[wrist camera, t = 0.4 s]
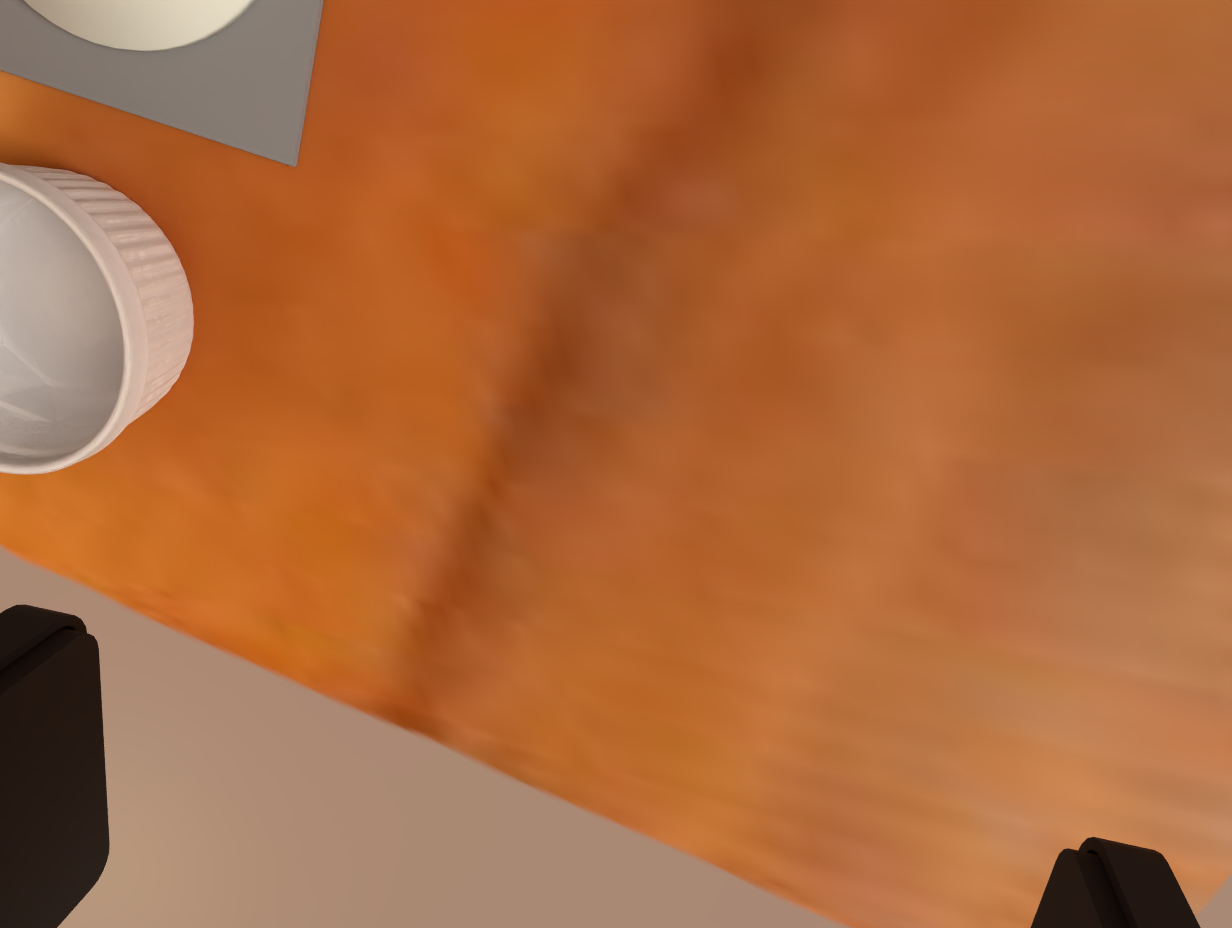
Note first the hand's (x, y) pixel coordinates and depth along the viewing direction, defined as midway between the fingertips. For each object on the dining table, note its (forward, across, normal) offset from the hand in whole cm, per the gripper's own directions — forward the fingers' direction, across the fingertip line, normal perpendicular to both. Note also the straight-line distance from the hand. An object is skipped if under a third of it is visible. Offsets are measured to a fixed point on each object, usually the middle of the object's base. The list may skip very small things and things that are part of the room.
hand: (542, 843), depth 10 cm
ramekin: (+36, +30, +6) cm, 47 cm away
